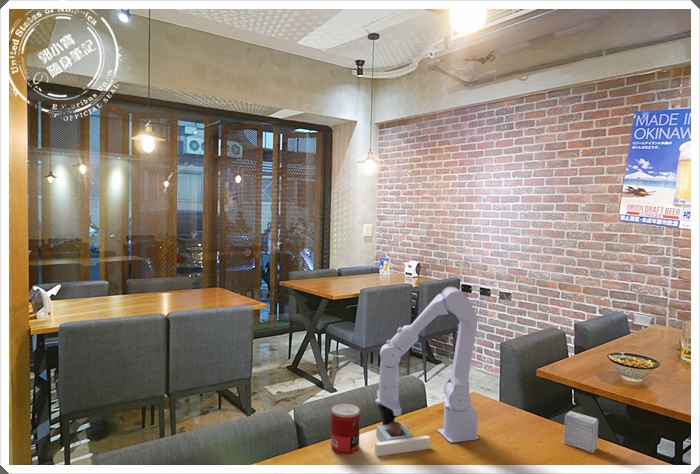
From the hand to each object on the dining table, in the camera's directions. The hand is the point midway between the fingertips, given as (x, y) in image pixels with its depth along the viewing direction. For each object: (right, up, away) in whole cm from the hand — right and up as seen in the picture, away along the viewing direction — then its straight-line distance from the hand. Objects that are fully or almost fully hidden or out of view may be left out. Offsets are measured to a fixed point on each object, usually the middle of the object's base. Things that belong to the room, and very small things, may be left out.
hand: (387, 429), depth 136 cm
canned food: (-13, -1, -9) cm, 16 cm away
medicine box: (+55, -3, -5) cm, 56 cm away
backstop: (+3, -2, -10) cm, 11 cm away
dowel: (+2, -1, -5) cm, 5 cm away
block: (+2, -1, -5) cm, 5 cm away
